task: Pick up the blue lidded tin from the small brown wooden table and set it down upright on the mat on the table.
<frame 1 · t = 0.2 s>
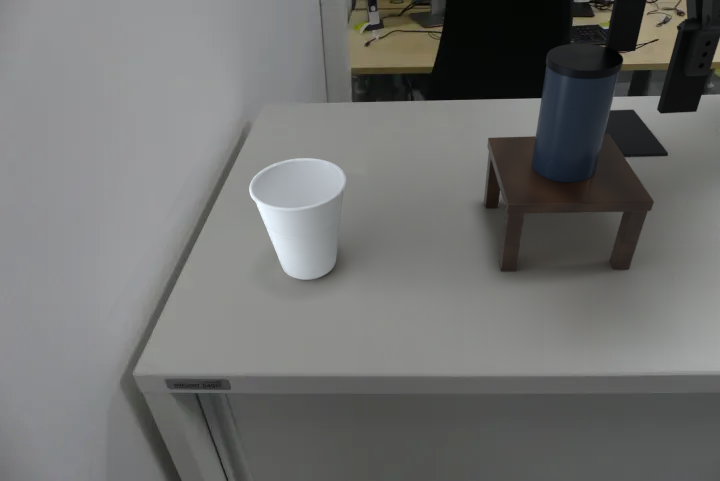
hand: (644, 77, 50), 21 cm above the table, tool pointing down, fingers open, 13 cm apart
small brown wooden table: (549, 232, 66), on the table
mat: (601, 133, 84), on the table
blue lidded tin: (563, 165, 60), point 9 cm above the table, touching small brown wooden table
cup: (309, 265, 64), on the table
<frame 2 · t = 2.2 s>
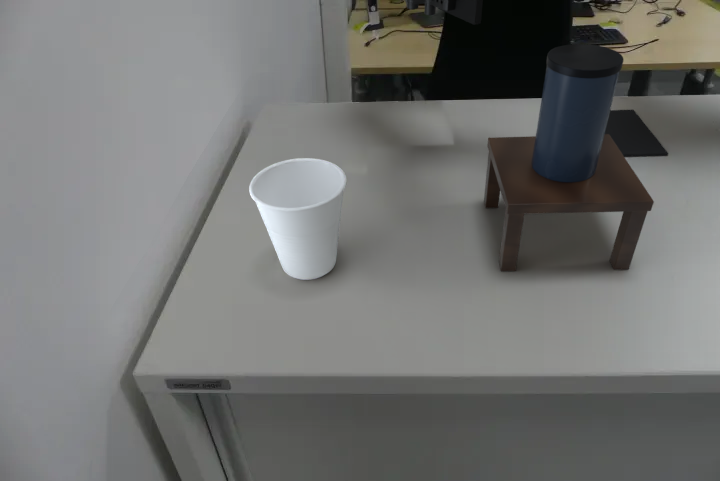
nothing on the table moved.
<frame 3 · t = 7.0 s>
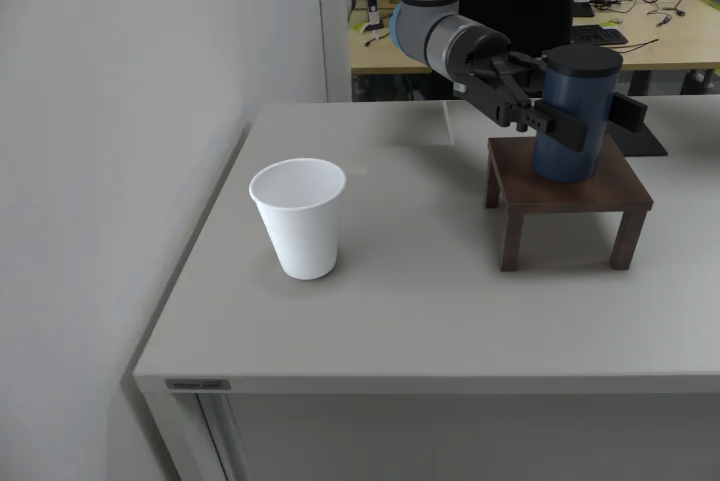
hand: (612, 129, 53), 16 cm above the table, tool horizontal, fingers closed on blue lidded tin, 7 cm apart
blue lidded tin: (563, 166, 60), point 9 cm above the table, touching gripper, small brown wooden table
everything else where it was.
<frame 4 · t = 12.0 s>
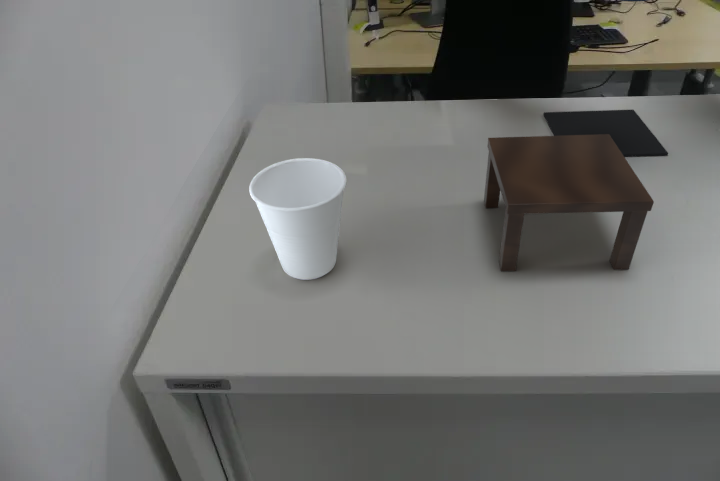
when the fingers open (7 cm above the table, at t = 17.4 s): blue lidded tin stays where it is, resting on mat.
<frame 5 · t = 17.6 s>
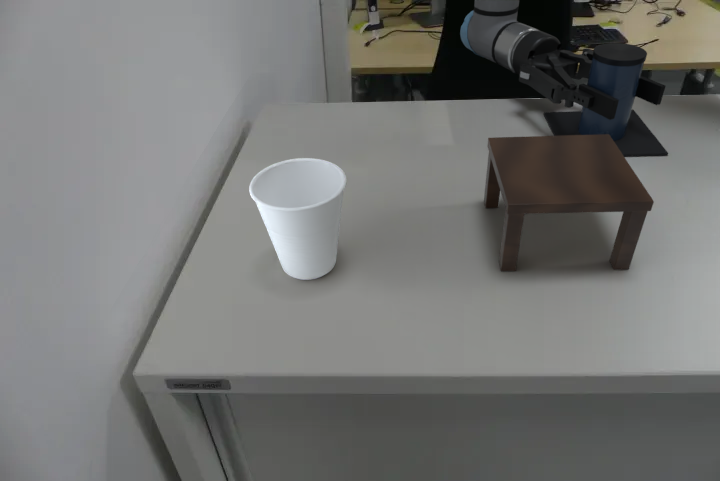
hand: (638, 102, 76), 7 cm above the table, tool horizontal, fingers open, 8 cm apart
blue lidded tin: (601, 131, 84), resting on mat
everything else where it was.
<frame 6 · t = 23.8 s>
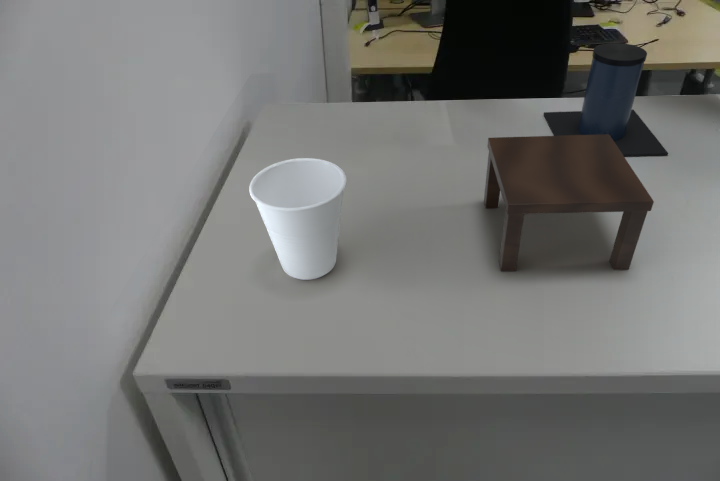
nothing on the table moved.
at the end: blue lidded tin inside the target area on the mat (0.1 cm from its centre), point 0.4 cm above the mat's base; blue lidded tin tilted 0°; the gripper is holding nothing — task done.
